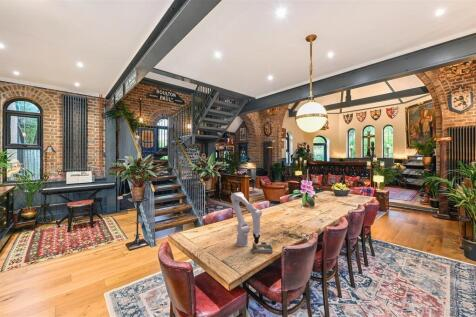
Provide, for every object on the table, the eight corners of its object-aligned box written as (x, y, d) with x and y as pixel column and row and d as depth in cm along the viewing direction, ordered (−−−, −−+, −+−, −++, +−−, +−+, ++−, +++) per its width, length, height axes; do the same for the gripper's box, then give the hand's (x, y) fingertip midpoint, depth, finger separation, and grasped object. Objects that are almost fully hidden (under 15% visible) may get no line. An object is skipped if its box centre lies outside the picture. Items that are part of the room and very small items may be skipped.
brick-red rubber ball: (259, 244, 161) (259, 239, 160) (254, 244, 161) (254, 239, 161) (258, 242, 165) (258, 237, 164) (253, 242, 165) (253, 237, 165)
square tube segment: (261, 246, 168) (261, 244, 168) (260, 244, 173) (260, 242, 173) (266, 246, 168) (266, 244, 168) (266, 244, 173) (266, 242, 173)
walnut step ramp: (253, 252, 159) (253, 245, 159) (252, 247, 167) (252, 241, 167) (260, 252, 159) (260, 245, 159) (259, 247, 167) (259, 241, 167)
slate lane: (253, 252, 159) (253, 246, 159) (253, 247, 167) (253, 242, 167) (272, 252, 158) (272, 247, 158) (271, 247, 166) (271, 242, 166)
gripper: (262, 228, 155) (262, 246, 155) (260, 222, 169) (260, 238, 170) (253, 228, 155) (252, 246, 155) (252, 222, 170) (252, 238, 170)
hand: (256, 242), depth 163 cm, fingers closed on brick-red rubber ball, 4 cm apart
